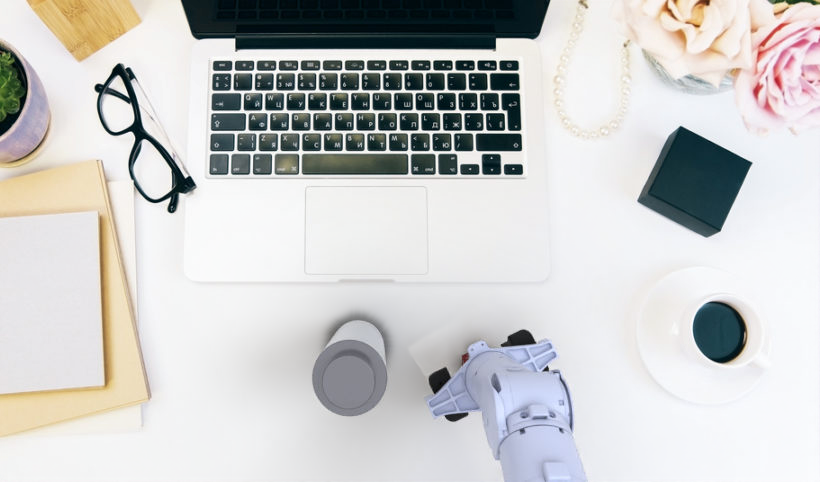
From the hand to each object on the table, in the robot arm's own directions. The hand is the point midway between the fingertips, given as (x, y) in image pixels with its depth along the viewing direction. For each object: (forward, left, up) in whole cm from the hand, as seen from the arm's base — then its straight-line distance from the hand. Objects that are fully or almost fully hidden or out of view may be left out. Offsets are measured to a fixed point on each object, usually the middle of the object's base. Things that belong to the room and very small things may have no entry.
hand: (477, 365), depth 70 cm
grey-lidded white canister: (+8, +12, -2) cm, 15 cm away
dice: (0, 0, -2) cm, 2 cm away
